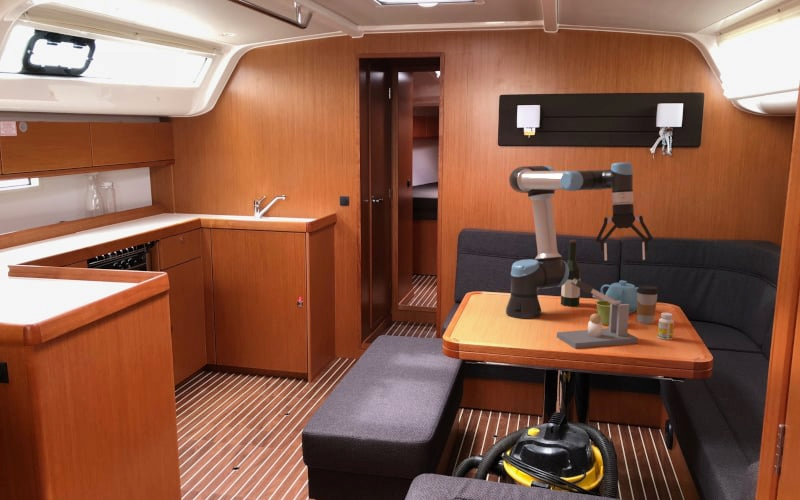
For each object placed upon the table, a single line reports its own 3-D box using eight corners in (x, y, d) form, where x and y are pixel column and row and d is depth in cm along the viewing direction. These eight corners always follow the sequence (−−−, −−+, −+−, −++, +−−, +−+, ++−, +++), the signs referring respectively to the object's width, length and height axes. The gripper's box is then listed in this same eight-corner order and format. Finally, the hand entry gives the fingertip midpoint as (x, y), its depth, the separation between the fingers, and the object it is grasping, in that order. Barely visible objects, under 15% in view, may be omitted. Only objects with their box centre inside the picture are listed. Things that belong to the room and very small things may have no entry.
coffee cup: (657, 325, 263) (660, 289, 260) (636, 324, 265) (638, 288, 262) (654, 320, 271) (656, 285, 268) (633, 318, 273) (635, 284, 270)
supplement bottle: (660, 340, 244) (662, 315, 242) (655, 335, 249) (657, 311, 248) (674, 340, 244) (676, 315, 242) (669, 336, 249) (671, 312, 247)
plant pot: (619, 322, 268) (620, 302, 266) (616, 328, 259) (618, 307, 258) (596, 319, 272) (597, 299, 270) (593, 325, 263) (594, 304, 262)
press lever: (570, 284, 239) (573, 277, 239) (616, 309, 246) (620, 302, 245) (575, 287, 235) (578, 279, 235) (621, 311, 242) (625, 304, 242)
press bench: (556, 337, 247) (558, 302, 245) (616, 332, 253) (618, 297, 251) (575, 348, 234) (577, 311, 231) (637, 343, 240) (640, 306, 238)
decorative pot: (595, 307, 292) (596, 277, 290) (627, 305, 296) (628, 276, 294) (614, 316, 277) (616, 285, 274) (647, 314, 280) (649, 283, 278)
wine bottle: (559, 302, 301) (562, 238, 296) (578, 302, 300) (581, 239, 295) (561, 306, 293) (564, 241, 288) (580, 307, 292) (583, 242, 287)
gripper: (587, 205, 242) (589, 261, 244) (658, 201, 233) (660, 259, 235) (589, 205, 249) (591, 259, 251) (658, 201, 240) (660, 258, 242)
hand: (624, 259), depth 243 cm, fingers open, 13 cm apart
